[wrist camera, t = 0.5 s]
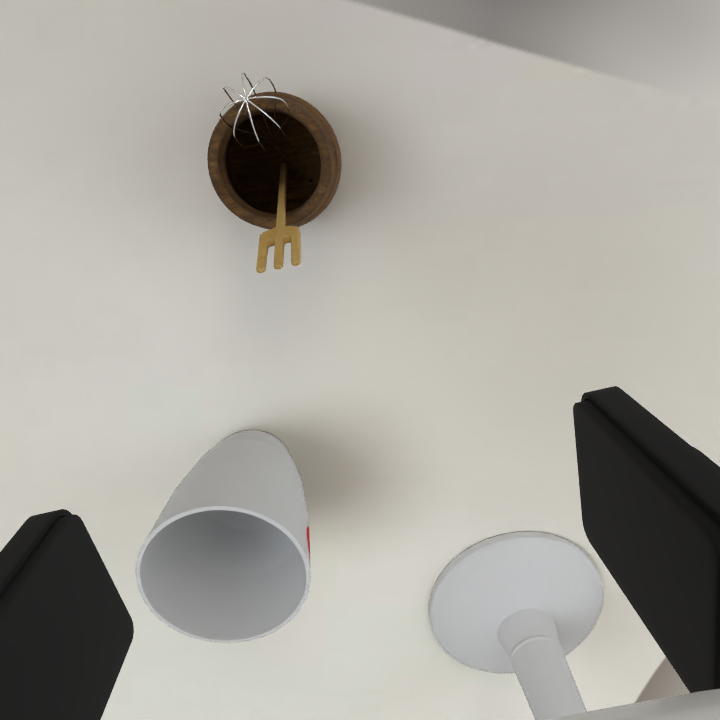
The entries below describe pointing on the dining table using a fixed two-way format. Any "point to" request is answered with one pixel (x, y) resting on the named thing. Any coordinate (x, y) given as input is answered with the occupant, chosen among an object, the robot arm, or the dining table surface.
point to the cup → (230, 544)
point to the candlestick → (520, 613)
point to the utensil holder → (274, 166)
